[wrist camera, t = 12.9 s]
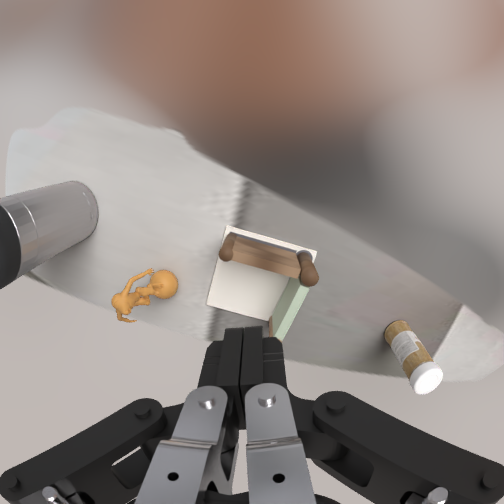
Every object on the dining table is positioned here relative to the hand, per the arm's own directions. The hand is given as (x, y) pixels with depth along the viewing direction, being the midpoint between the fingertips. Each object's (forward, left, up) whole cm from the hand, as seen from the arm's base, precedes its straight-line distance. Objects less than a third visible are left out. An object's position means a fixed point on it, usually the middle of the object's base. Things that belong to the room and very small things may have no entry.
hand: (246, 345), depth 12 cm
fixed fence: (0, -5, -28) cm, 29 cm away
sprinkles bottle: (+17, -23, -29) cm, 41 cm away
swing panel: (+1, -12, -28) cm, 30 cm away
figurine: (-16, -5, -29) cm, 33 cm away
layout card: (-2, -9, -28) cm, 30 cm away
